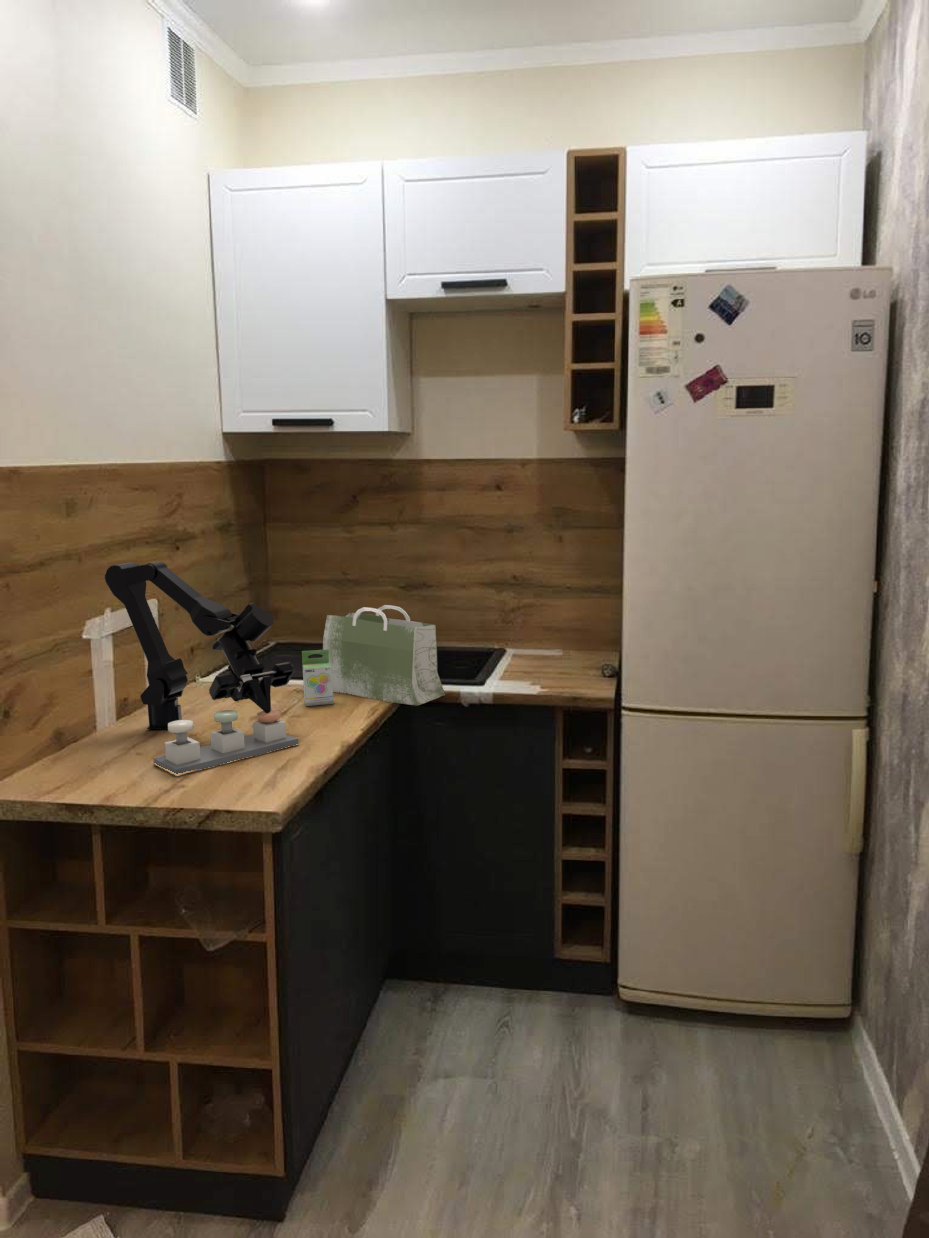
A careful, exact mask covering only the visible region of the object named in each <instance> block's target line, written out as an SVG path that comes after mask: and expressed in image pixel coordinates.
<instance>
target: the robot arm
mask: <svg viewBox="0 0 929 1238" xmlns="http://www.w3.org/2000/svg"><path fill="white" fill-rule="evenodd" d="M104 581H105V583H106V585H107V587H108V588H109V590H110V593H111V594H112V595H113V596H114V597H115V598H116V599H117V600H118V601H119V602H120V603H122V604H123V606H124V608H125V609H126V613H127V615H128V618H129V621H131V625H132V627H133V630H134V633H135V635H136V636H137V639H138V641H139V644H140V646H141V649H142V651H143V653H144V656H145V658H146V660H147V667H146V669H147V671H146V678H147V682H148V686H146V688H145V690H143V692H142V693H141V694H140V695H139V697H140V701H141V703H142V705H147V715H148V717H147V718H148V726H147V727H146V730H147V729H159V730H168V723H170V722H173V721H177V720H183V718H182V717H183V716H182V705H181V704H179V698H181V697H182V696H183V693H184V689H185V688H186V686H187V684H188V676H187V675H188V674H189V672H188V671H187V670H186V668H185V665H184V662H183V660H182V658H179V657H178V658H176V659H175V658H174V657H173V656H172V655H170V653H169V651H168V649H167V646H166V644H165V642H164V639H163V637H162V635H161V632H160V629H159V626H158V624H157V622H156V620H155V617H154V615H153V612H152V610H151V607H150V606H149V602H148V600H147V598H146V593H147V581H149V582H151V583H152V584H153V585H154V586H156V587H157V588H158V589H159V590H160V591H162V592H163V594H165V595H167V596H168V597H169V598H171V600H172V601H174V603H176V604H177V605H179V607H181V608H182V609H183V610H185V611H186V612H187V613H188V616H189V617H190V619H191V622H192V624H193V625H194V626H195V627H196V628H197V630H199V632H200V633H202V635H204V636H206V637H207V636H209V637H210V636H215V635H219V634H222V633H223V634H222V635H221V636H220V637H219V638H218V637H216V638H215V641H214V643H213V645H212V651H221V652H223V654H224V656H225V658H226V660H227V661H228V662H227V663H229V664H228V666H227V669H228V672H229V673H224V674H219V675H218V674H217V675H215V677H214V678H213V681H212V683H211V685H210V686H209V689H208V691H209V692H208V693H209V695H210V697H211V700H213V701H216V700H220V699H221V700H223V699H229V698H231V699H232V700H233V702H239V701H243V700H250V701H251V702H253V703H254V704H255V705H256V706H258V708H260V709H261V711H264V712H265V713H270V711H271V710H272V701H271V699H272V698H271V697H272V696H271V687H274V688H278V687H283V686H286V685H288V684H289V682H290V681H291V679H292V678H293V675H294V674H295V672H296V669H295V667H294V664H293V663H291V662H290V661H289V662H288V661H286V662H281V663H276V664H274V665H273V667H272V669H271V670H270V671H265V672H264V670H265V665H264V663H260V662H259V660H258V659H257V656H256V655H257V654H258V651H257V649H256V648H252V646H251V645H250V643H249V642H257V641H258V640H259V639H260V638H261V637H262V636H263V635H264V634H265V633H266V632H267V631H268V630H269V629H270V628H271V627H273V625H274V619H273V616H272V615H271V614H270V612H268V611H266V610H265V609H264V608H262V607H260V606H258V605H256V603H255V602H251V603H248V604H247V605H246V606H245V607H244V609H243V611H242V612H241V613H236V612H232V611H231V609H229V608H227V607H226V606H224V605H222V604H221V603H219V602H217V601H215V600H211V599H209V598H206V597H204V596H203V595H201V593H199V592H198V591H197V590H195V589H194V588H193V587H191V585H189V584H188V583H187V582H186V581H184V580H183V579H182V578H181V577H180V576H179V575H177V574H176V573H175V572H174V571H172V570H171V569H170V568H168V565H167V564H166V563H164V562H162V561H158V560H157V561H154V562H149V563H145V564H142V565H140V564H138V563H136V562H132V561H130V562H125V563H120V564H119V563H118V564H114V565H111V566H109V567H108V568H107V570H106V572H105V574H104ZM231 628H232V629H231Z"/></svg>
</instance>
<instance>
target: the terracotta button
mask: <svg viewBox="0 0 929 1238" xmlns="http://www.w3.org/2000/svg"><path fill="white" fill-rule="evenodd" d="M256 714H257V716H256V717H257V721H260V722H264V724H266V725H268V724H272V723H274V721H277V720H281V711H279V710H276V709H271V711H270V713H265V712H264V711H263V710H261V711H259V712H257V713H256Z"/></svg>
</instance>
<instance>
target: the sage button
mask: <svg viewBox="0 0 929 1238" xmlns="http://www.w3.org/2000/svg"><path fill="white" fill-rule="evenodd" d="M238 716H239V714H238V711H237V710H234V709H233V710H231V709H230V710H229V709H228V710H227V709H225V710H219V711H216V712H214V713H213V721H214V722H216V723H220V730H221V732H222V734H223V735H225V734H230V733H232V727H233V722H235V721H238V720H239V717H238Z"/></svg>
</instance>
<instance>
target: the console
mask: <svg viewBox="0 0 929 1238" xmlns="http://www.w3.org/2000/svg"><path fill="white" fill-rule="evenodd" d="M252 730H253V733H252V734H249V735H245V732H244V731H243V730H240V729H238V728H237V727H233V726H232V733H230V734H225V735H223V734H222V732H221V729H218V730H213V731H210V744H206V745H203V746H200V741H197V740H196V739H193V738H191V737H189V736H187V742H188V743H187V744H183V745H179V746H178V745H176V739H174V740H170V741H166V742H164V751H165V755H161V756H157V757H154V758H153V764H154V763H156V764H157V765H159V766H161V767H163V768H165V769H168V770H170V771H172V772H174V773H176V774H178V773H183V772H186V771H191V770H195V769H204V768H208V767H212V768H214V767H213V766H216V765H220V764H223V763H227V762H230V761H234V760H238V759H242V758H246V757H250V756H255V757H257V756H256V755H259V756H261V755H260V754H262V755H265V754H264V753H266V754H268V753H267V752H270V751H274V750H277V749H281V748H285V747H288V746H293V745H296V744H300V743H299V741H300V739H299V737H295V736H292V735H291V734H287V731H286V730H287V729H286V721H284V720H281V719H279V720H277V721H274V723H272V724H268V725H266V724H264V722H260V721H258V720H257V721H253V722H252ZM293 747H294V746H293ZM274 752H275V751H274ZM270 753H271V752H270ZM220 766H221V765H220ZM216 767H217V766H216ZM208 769H209V768H208Z"/></svg>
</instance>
